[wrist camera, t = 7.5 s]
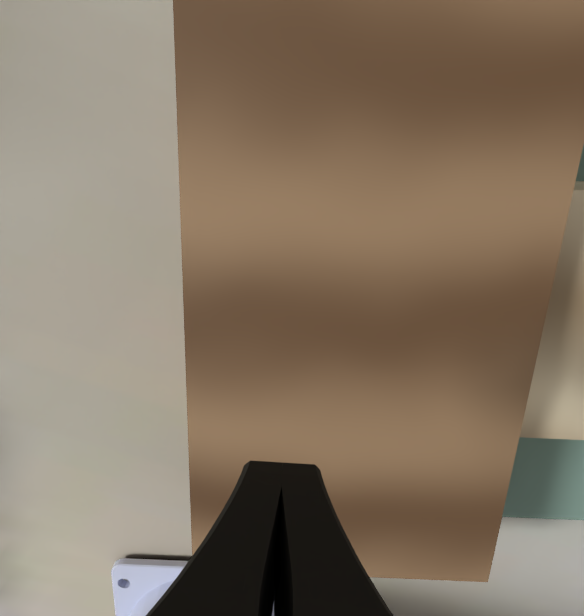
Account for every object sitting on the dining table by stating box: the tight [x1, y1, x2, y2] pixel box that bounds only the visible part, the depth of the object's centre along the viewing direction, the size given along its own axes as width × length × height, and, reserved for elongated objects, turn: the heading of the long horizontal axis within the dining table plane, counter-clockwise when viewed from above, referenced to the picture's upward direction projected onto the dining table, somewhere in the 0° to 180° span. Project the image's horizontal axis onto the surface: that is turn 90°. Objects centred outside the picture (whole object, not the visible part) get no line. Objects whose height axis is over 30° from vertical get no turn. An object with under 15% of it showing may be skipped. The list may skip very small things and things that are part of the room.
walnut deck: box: [173, 0, 584, 582], centre depth 17 cm, size 18×10×4 cm, turn 178°
